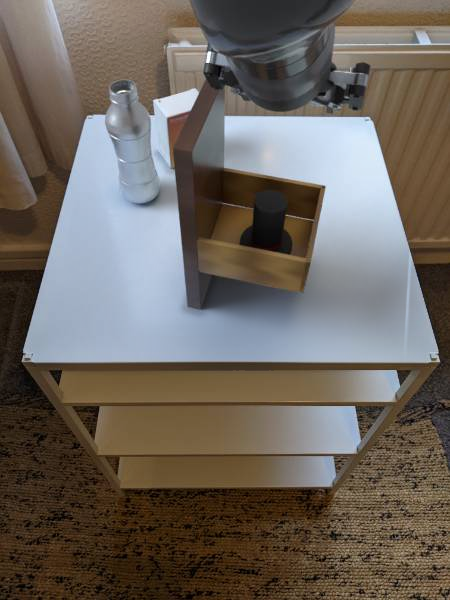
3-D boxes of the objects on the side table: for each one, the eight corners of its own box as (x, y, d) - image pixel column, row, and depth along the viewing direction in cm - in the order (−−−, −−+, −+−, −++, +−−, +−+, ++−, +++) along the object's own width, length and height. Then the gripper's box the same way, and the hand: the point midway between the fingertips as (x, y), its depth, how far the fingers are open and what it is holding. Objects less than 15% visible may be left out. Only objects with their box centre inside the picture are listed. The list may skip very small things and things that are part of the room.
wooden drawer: (308, 259, 77) (347, 95, 54) (294, 330, 70) (331, 175, 47) (211, 239, 79) (207, 73, 56) (187, 306, 72) (172, 147, 49)
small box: (170, 169, 88) (165, 118, 80) (158, 151, 91) (151, 99, 82) (211, 156, 91) (210, 104, 82) (197, 138, 93) (195, 86, 85)
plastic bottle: (164, 205, 83) (150, 97, 67) (123, 211, 83) (99, 103, 66) (158, 179, 87) (144, 70, 70) (119, 184, 86) (96, 76, 70)
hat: (296, 230, 68) (304, 186, 62) (286, 270, 65) (294, 227, 58) (246, 221, 69) (249, 176, 63) (234, 259, 66) (235, 216, 59)
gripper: (394, -1, 34) (368, 67, 50) (191, -25, 36) (228, 48, 52) (368, 115, 35) (351, 145, 51) (175, 85, 37) (216, 123, 53)
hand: (289, 96), depth 51 cm, fingers open, 8 cm apart
